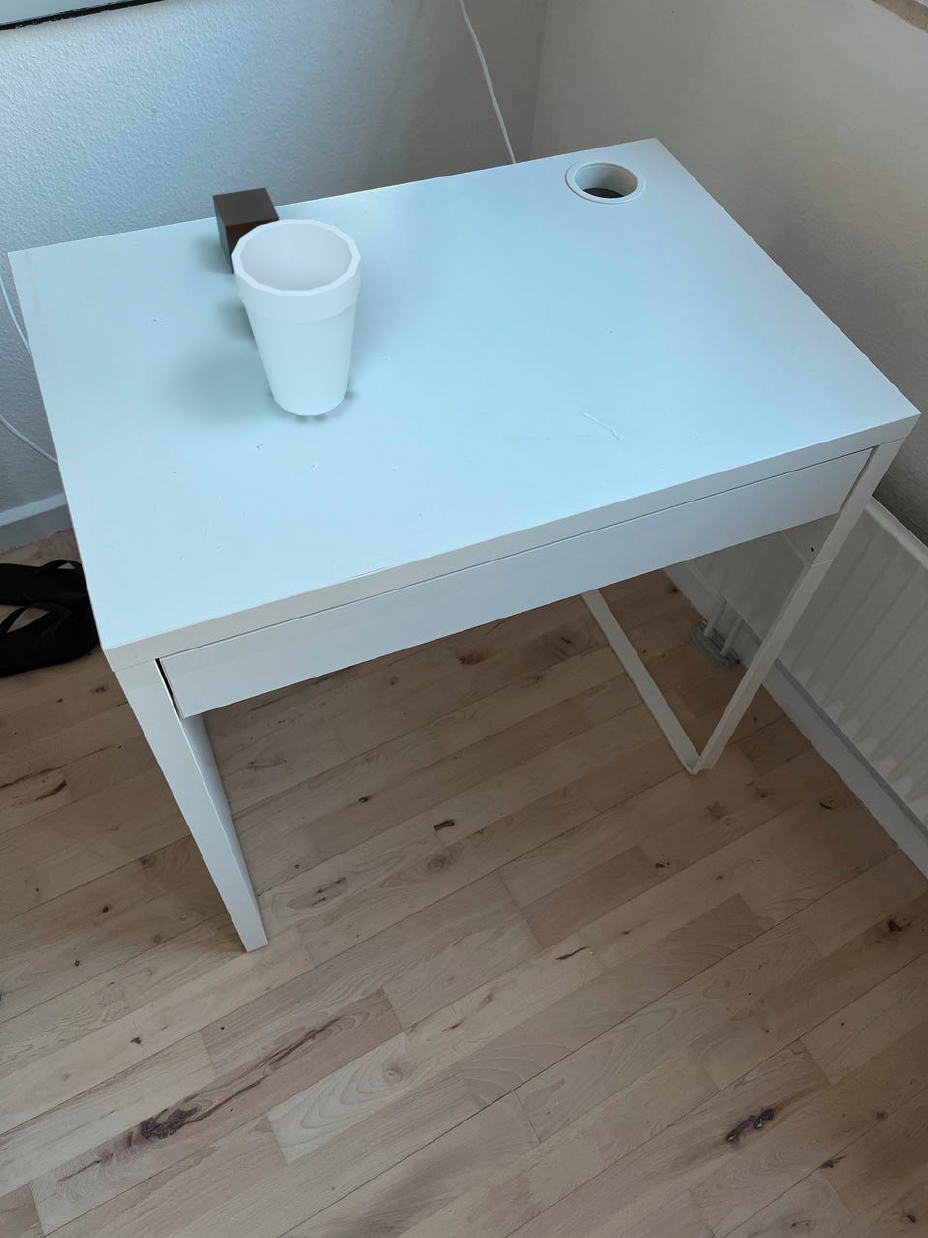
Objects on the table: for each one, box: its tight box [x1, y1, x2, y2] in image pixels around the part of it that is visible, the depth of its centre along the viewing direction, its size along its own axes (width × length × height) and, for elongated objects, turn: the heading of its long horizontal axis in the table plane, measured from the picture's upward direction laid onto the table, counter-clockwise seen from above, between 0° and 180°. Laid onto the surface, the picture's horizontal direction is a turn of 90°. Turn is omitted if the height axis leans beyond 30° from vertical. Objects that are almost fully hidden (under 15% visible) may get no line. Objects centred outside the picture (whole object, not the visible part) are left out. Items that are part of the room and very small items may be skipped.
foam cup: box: [231, 218, 362, 416], centre depth 75 cm, size 10×9×13 cm
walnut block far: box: [212, 187, 280, 275], centre depth 88 cm, size 5×5×5 cm
